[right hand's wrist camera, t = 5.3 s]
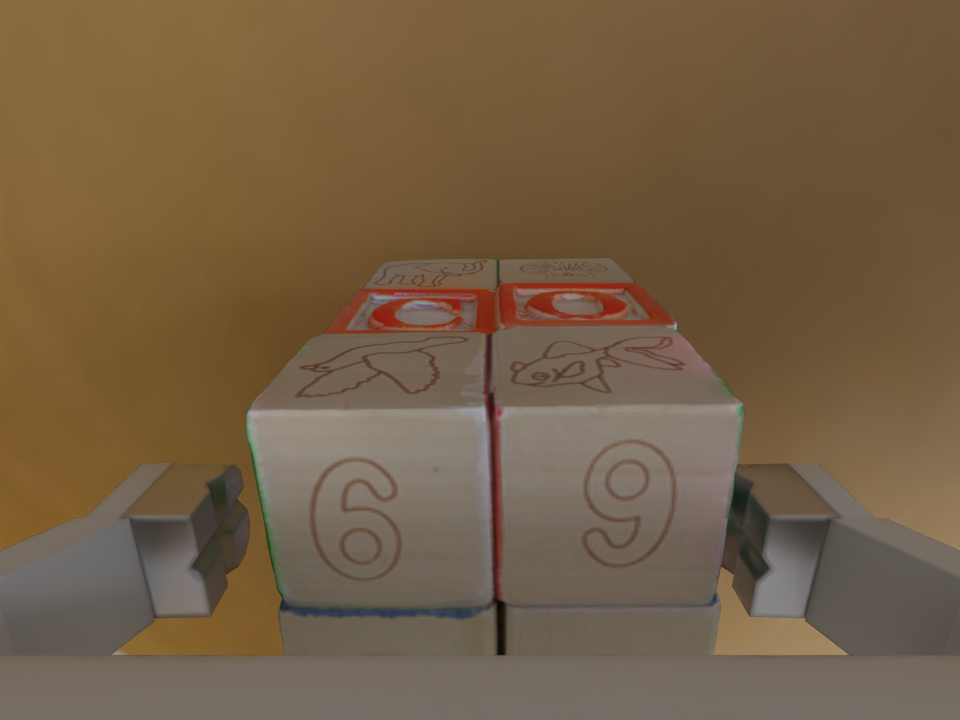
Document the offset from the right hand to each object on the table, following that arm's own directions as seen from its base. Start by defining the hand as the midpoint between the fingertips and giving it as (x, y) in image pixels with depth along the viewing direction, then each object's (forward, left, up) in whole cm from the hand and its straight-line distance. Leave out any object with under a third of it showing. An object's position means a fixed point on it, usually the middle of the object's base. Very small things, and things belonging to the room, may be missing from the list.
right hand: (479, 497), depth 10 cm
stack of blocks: (0, +8, -7) cm, 10 cm away
